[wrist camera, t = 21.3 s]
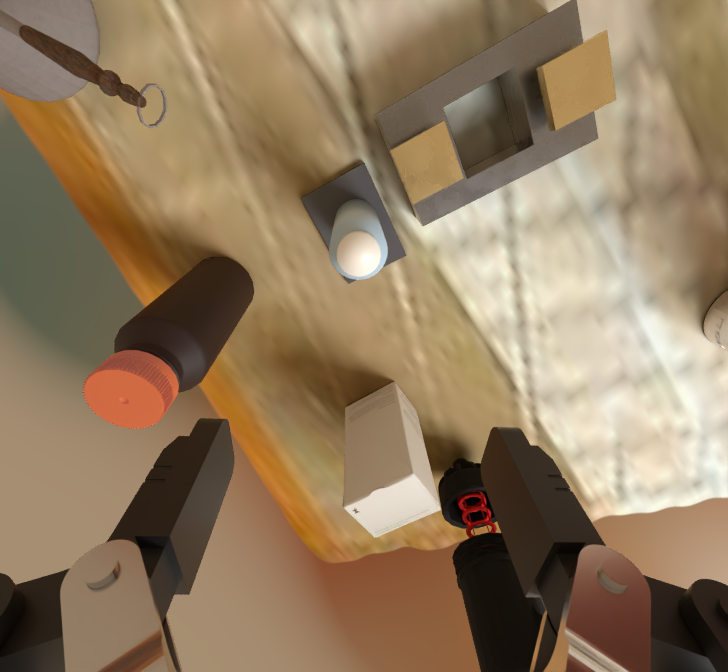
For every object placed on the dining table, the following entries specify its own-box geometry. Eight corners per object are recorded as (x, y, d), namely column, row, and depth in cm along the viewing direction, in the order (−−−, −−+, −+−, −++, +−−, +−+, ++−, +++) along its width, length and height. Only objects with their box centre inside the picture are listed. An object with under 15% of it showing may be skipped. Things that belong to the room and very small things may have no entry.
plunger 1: (432, 122, 32) (444, 120, 27) (449, 173, 34) (463, 178, 29) (385, 148, 32) (390, 150, 28) (405, 196, 34) (412, 204, 30)
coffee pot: (-39, 60, 30) (-342, 1, 17) (-44, -124, 25) (-478, -406, 12) (215, 181, 35) (133, 209, 22) (252, 48, 30) (174, -20, 17)
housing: (549, 13, 29) (575, -3, 26) (573, 138, 34) (598, 138, 30) (374, 116, 33) (376, 113, 29) (416, 217, 37) (422, 226, 34)
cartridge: (335, 197, 35) (329, 222, 25) (380, 200, 36) (392, 226, 25) (334, 242, 38) (327, 282, 27) (375, 244, 38) (385, 285, 27)
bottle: (190, 250, 38) (52, 347, 21) (255, 260, 39) (175, 362, 21) (194, 308, 41) (78, 434, 24) (254, 316, 42) (183, 444, 25)
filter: (464, 494, 58) (554, 785, 32) (416, 477, 56) (470, 775, 30) (517, 438, 53) (679, 737, 26) (465, 417, 51) (586, 721, 24)
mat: (364, 162, 34) (364, 163, 34) (405, 254, 39) (406, 255, 38) (301, 197, 36) (300, 198, 35) (348, 282, 40) (348, 283, 40)
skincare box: (367, 434, 52) (372, 541, 38) (342, 404, 49) (337, 508, 35) (419, 409, 50) (444, 513, 36) (395, 376, 47) (413, 475, 33)
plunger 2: (570, 45, 29) (606, 30, 25) (580, 104, 31) (615, 99, 27) (516, 75, 30) (542, 66, 26) (529, 131, 32) (555, 130, 28)
